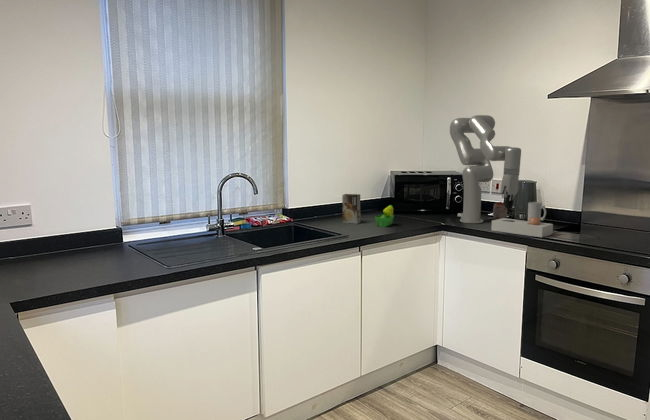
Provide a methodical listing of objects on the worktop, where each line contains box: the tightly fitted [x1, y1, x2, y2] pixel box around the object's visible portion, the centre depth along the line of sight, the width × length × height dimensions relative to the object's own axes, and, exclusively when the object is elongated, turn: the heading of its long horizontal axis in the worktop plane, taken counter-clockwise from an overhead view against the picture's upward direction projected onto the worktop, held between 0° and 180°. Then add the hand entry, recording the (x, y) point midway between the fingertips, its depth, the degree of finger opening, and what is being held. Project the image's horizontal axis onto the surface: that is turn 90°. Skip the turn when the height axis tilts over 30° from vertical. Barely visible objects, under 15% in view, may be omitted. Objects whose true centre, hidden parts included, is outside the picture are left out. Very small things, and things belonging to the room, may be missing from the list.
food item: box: [492, 201, 508, 220], centre depth 290 cm, size 14×8×10 cm, turn 169°
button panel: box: [490, 217, 554, 238], centre depth 247 cm, size 26×12×5 cm, turn 43°
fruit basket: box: [374, 204, 395, 228], centre depth 269 cm, size 11×9×11 cm
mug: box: [527, 201, 547, 221], centre depth 267 cm, size 10×7×12 cm, turn 37°
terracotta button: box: [529, 217, 541, 225], centre depth 242 cm, size 5×5×5 cm
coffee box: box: [341, 193, 361, 225], centre depth 278 cm, size 9×6×16 cm
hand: (508, 207), depth 252 cm, fingers closed
